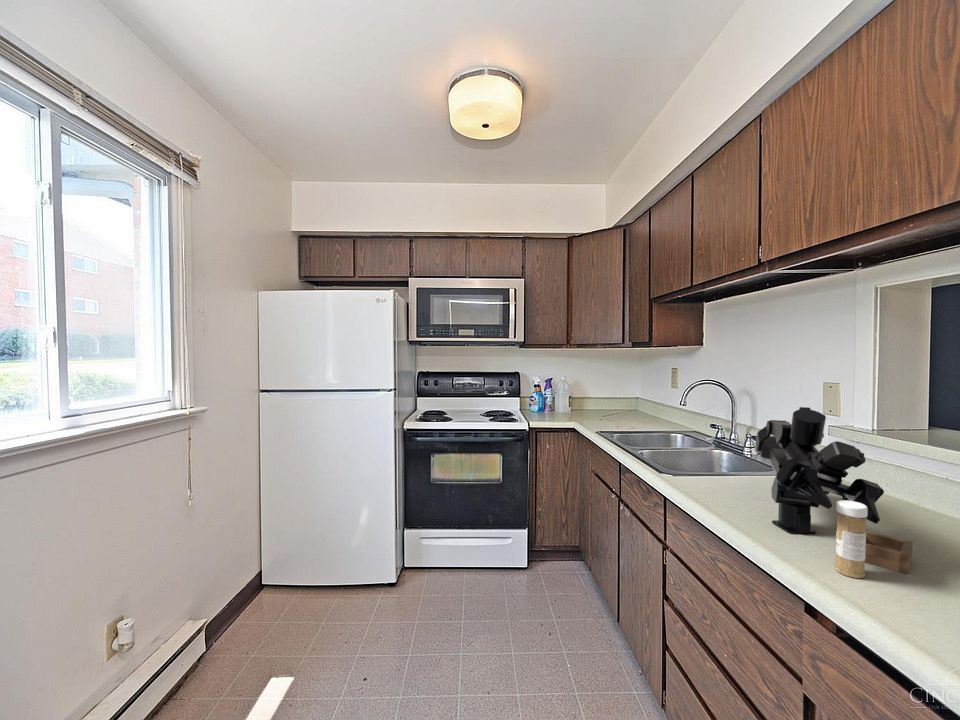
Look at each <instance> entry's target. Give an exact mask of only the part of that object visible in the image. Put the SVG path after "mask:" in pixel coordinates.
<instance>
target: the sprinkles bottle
mask: <svg viewBox="0 0 960 720" xmlns="http://www.w3.org/2000/svg"><path fill="white" fill-rule="evenodd" d="M835 505H836V506H835V507H836V514H837V517H836V518H837V519H836V520H837V522H836V535H835V538H836V539H835V541H836V542H835V565H834V568H835V570H836V571H837V572H838V573H839V574H841V575H843V576H846V577H851V578H853V579H862V578H865V577H866V572H865V555H866V531H867V530H866V529H867V518H866V517H867V516H868V508H867V506H866V505H864V504H861V503H858V502H854V501H848V500H840V499H839V500H837V501H836V504H835Z"/></svg>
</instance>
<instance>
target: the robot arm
mask: <svg viewBox="0 0 960 720" xmlns="http://www.w3.org/2000/svg"><path fill="white" fill-rule="evenodd" d="M826 419H827V417H826V415H825V414H823V413H821V412H820V411H817V410H814V409H811V407H807V406H806V407H803V406H800V407H799V408H798V409H797V410H795V411H793V412H792V418H791V422H790V421H787V420H780V419H779V420H778V419H777V420H776V419H770V420H767V421H766V425H765V426H764V427H763V428H761V429H760V430H759V431H757V433H756V438H755V445H754V446H755V450H756V452H758V454H759V456H760V457H761V458H763V459H766V460H769V461H770V463H771V464H772V467H773V469H774V470H775V472H776V474H775V475H776V477H774V480H773V483H772V486H771V489H770V490H771V498H772V500H773V501H774V503H775V504H778V518H777V520H772V521H771V523H772V524H773V525H775V526H776V527H779V528H780V529H782V530H783V531H785V532H787V533H789V534H817V533H818V532H817V530H816V529H814V528H813V527H812V513H811V507H812V508H818V509H819V508H820V506H821V507H824V508H826V509H827V510H830V509H831V508H832V507H833V503H832V501H831V499H830V498H829V496H828V495H829V494H833V495H837V496H840V497H842V500H848V501H854V502H858V503H861V504H864V505H866V506H867V508H868V516H867V517H866V518H867V519H866V521H869V522H871V523H873V524H875V525H877V524H878V523H879V522H880V521H881V518H880V516H879V513H878V510H877V506H876V502H877V501H878V500H879V499H880V498H881V497H882V496H883V494H885V490H884V489H883V488H882V487H881V486H880V485H879V484H878V483H876V482H873V481H870V480H867V479H863V478H856V479H854V481H853V482H852V483H851V484H850V485H848V484H845V483H844V484H843V479H845V478H846V477H847V476H848V475H849V472H848V471H847V470H848V469H851V468H852V467H853V468H858V467H860V466H862V465H863V464H865V463H866V458H865V453H863V452H862V451H861V450H860V449H859V448H856V447H855V446H854V445H852V444H849V443H848V444H847V443H845V442H841V441H837V440H836V441H832V442H830V443H829V444H828V445H826V446H825V447H823V448H822V449H820V450H818V448H817V447H816V446H817V445H821V444H822V441H823V439H824V437H825V435H824V433H825V432H824V431H825V425H826Z"/></svg>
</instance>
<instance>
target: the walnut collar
mask: <svg viewBox="0 0 960 720" xmlns="http://www.w3.org/2000/svg"><path fill="white" fill-rule="evenodd" d="M913 545H914V543H913V541H909V540H905V539H901V538H897V537H892V536H889V535H883V534H880V533H875V532H873V531H872V532H871V531H868V530H866V555H865V563H866V564H870V565H873V566H877V567H881V568H883V569H888V570H892V571H895V572H899V573H902V574H906V575H908V574H909V572H910V571H909V570H910V568H911V564H912V560H913V548H914V547H913Z"/></svg>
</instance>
